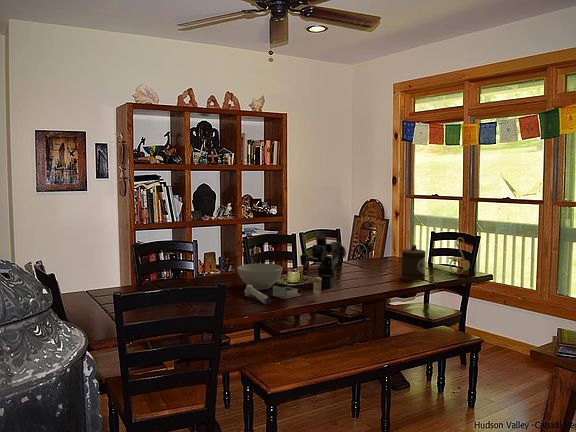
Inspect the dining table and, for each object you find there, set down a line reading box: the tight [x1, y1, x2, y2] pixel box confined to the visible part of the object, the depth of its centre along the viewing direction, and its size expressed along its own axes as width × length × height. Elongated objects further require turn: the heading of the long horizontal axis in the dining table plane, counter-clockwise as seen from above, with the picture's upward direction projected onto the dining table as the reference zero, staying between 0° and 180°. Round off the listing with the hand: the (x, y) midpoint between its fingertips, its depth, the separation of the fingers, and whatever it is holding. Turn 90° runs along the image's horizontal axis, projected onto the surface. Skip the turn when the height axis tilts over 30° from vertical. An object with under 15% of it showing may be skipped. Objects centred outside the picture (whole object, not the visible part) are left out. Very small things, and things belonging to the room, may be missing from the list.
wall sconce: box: [447, 237, 471, 275], centre depth 340 cm, size 14×10×25 cm
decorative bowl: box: [237, 263, 284, 291], centre depth 301 cm, size 27×27×12 cm
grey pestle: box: [243, 284, 272, 305], centre depth 273 cm, size 5×7×25 cm
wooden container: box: [401, 244, 427, 281], centre depth 326 cm, size 15×15×22 cm
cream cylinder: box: [312, 276, 322, 302], centre depth 270 cm, size 4×4×12 cm
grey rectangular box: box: [272, 285, 302, 300], centre depth 281 cm, size 12×10×6 cm
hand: (311, 267), depth 278 cm, fingers open, 9 cm apart
